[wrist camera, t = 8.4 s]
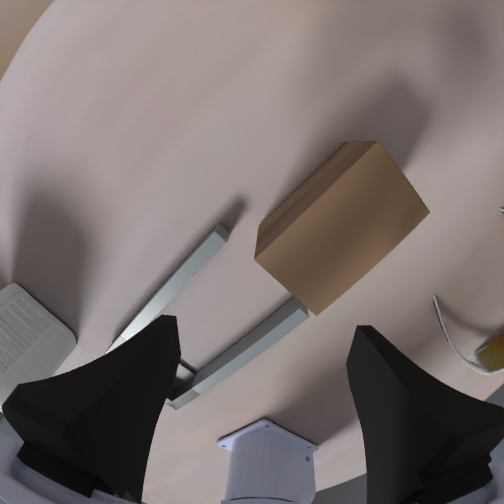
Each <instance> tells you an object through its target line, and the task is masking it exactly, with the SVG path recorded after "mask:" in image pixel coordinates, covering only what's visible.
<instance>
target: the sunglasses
mask: <svg viewBox="0 0 504 504" xmlns="http://www.w3.org/2000/svg"><path fill="white" fill-rule="evenodd" d="M498 209H499V211H501V212H503V213H504V209H502V208H498ZM433 301H434V305H435V309H436V313H437V316H438V319H439V322H440V325H441V327H442V330H443V332H444V334H445V337H446V339H447V341H448V343H449V344H450V346H451V348H452V349H453V351H454V352H455V353H456V354H457V356H458V357H459V358H460V359H461V360H462V361H463V362H464V363H465V364H466V365H467V366H468V367H470V368H471V369H473V370H475V371H477V372H479V373H481V374H483V375H489V376H492V375H496V374H499V373H501V372H504V333H503V335H502V336H501V337H499V338H498V339H497V340H496V341H494V342H493V343H491V344H489V345H487V346H485V347H483V348H481V349H479V350H477V351H475V353H474V356H475V359H476V362H477V363H474V362H471V361H468V360H467V359H465V358H464V357H463V356H462V355H461V354H460V353H459V351H458V350H457V349H456V348H455V346H454V345H453V343H452V341H451V339H450V337H449V334H448V332H447V330H446V327H445V324H444V322H443V319H442V316H441V312H440V309H439V305H438V302H437V298H436V296H435V294H434V295H433Z"/></svg>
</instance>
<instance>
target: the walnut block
mask: <svg viewBox="0 0 504 504" xmlns="http://www.w3.org/2000/svg"><path fill="white" fill-rule="evenodd" d="M429 213H430V211H429V210H428V208H427V207H426V205H425V204H424V202H423V201H422V199H421V198H420V196H419V195H418V193H417V192H416V191H415V189H414V188H413V186H412V185H411V184H410V182H409V181H408V180H407V178H406V177H405V175H404V174H403V173H402V171H401V170H400V169H399V167H398V166H397V165H396V164H395V162H394V161H393V160H392V159H391V157H390V156H389V155H388V154H387V152H386V151H385V150H384V149H383V147H382V146H381V145H380V144H379V143H378V141H366V142H345V143H344V144H343V145H342V146H341V147H340V148H339V149H337V150H336V151H335V152H334V153H333V154H332V155H331V156H330V157H329V158H328V159H327V160H326V161H325V162H324V163H323V164H322V165H321V166H320V167H319V168H318V169H317V170H316V171H315V172H314V173H313V174H312V175H310V176H309V177H308V178H307V179H306V180H305V181H304V182H303V183H302V184H301V185H300V186H299V187H298V188H297V189H296V190H295V191H294V192H293V193H292V194H291V195H290V196H289V197H288V198H287V199H286V200H285V201H284V202H283V203H282V204H281V205H280V206H279V207H278V208H277V209H276V210H275V211H274V212H273V213H271V214H270V215H269V216H268V217H267V218H266V219H265V220H264V221H263V222H262V223H261V224H260V225H259V228H258V235H257V243H256V250H255V257H254V260H255V261H256V262H257V263H259V264H260V265H261V266H262V267H263V268H264V269H265V270H266V271H267V272H268V273H270V274H271V275H272V276H273V277H274V278H275V279H276V280H277V281H278V282H279V283H281V284H282V285H283V286H284V287H285V288H286V289H287V290H288V291H289V292H291V293H292V294H293V295H294V296H295V297H296V298H297V299H298V300H299V301H300V302H302V303H303V304H304V305H305V306H306V307H307V308H308V309H309V310H310V311H312V312H313V313H314V314H315V315H316V316H317V315H318V314H319V313H321V312H322V311H323V310H324V309H326V308H327V307H328V306H329V305H330V304H332V303H333V302H334V301H335V300H336V299H338V298H339V297H340V296H341V295H342V294H344V293H345V292H346V291H347V290H348V289H349V288H351V287H352V286H353V285H354V284H355V283H356V282H357V281H359V280H360V279H361V278H362V277H363V276H364V275H365V274H367V273H368V272H369V271H370V270H371V269H372V268H373V267H374V266H375V265H376V264H378V263H379V262H380V261H381V260H382V259H383V258H384V257H385V256H386V255H387V254H388V253H389V252H390V251H392V250H393V249H394V248H395V247H396V246H397V245H398V244H399V243H400V242H401V241H402V240H403V239H404V238H405V237H406V236H407V235H408V234H409V233H410V232H411V231H412V230H413V229H414V228H415V227H416V226H417V225H418V224H419V223H420V222H421V221H422V220H423V219H424V218H425V217H426V216H427V215H428V214H429Z"/></svg>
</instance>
